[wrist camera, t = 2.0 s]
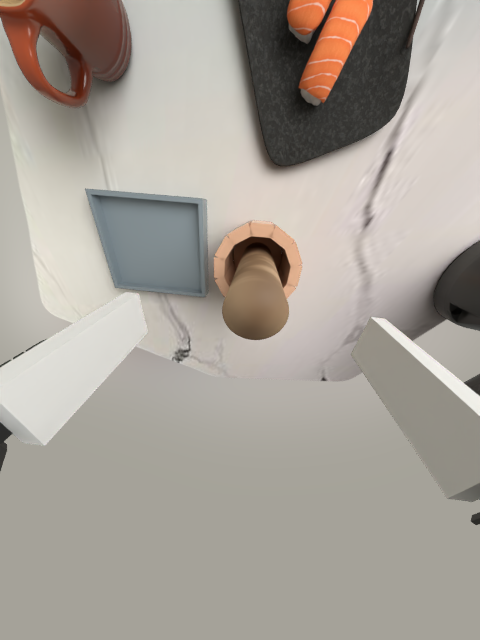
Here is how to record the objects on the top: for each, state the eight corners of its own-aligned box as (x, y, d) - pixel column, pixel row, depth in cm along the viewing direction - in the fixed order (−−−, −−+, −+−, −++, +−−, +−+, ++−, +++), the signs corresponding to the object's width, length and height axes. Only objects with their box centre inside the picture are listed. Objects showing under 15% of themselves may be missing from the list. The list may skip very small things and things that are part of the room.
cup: (295, 223, 26) (312, 227, 18) (282, 289, 31) (290, 314, 23) (227, 217, 26) (213, 219, 18) (225, 283, 31) (214, 306, 23)
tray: (206, 199, 25) (202, 198, 23) (208, 292, 32) (205, 297, 30) (97, 190, 26) (84, 188, 24) (123, 283, 33) (115, 287, 31)
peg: (274, 243, 26) (296, 285, 11) (269, 273, 29) (281, 343, 13) (243, 240, 26) (223, 277, 11) (241, 270, 29) (221, 336, 13)
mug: (44, -61, 16) (-216, -396, 7) (140, -32, 16) (3, -318, 8) (78, 124, 22) (-40, 65, 13) (147, 143, 23) (76, 97, 14)
